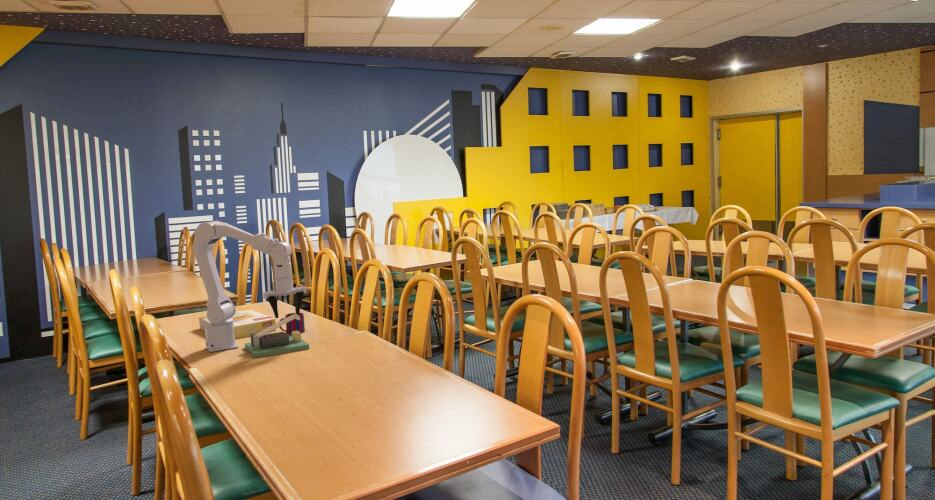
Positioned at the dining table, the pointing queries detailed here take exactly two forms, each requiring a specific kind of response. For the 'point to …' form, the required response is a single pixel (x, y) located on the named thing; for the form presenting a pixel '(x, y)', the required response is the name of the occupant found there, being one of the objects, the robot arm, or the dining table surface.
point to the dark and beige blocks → (273, 339)
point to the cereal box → (245, 322)
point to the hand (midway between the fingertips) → (287, 316)
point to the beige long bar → (278, 325)
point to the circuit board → (277, 348)
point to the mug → (294, 324)
